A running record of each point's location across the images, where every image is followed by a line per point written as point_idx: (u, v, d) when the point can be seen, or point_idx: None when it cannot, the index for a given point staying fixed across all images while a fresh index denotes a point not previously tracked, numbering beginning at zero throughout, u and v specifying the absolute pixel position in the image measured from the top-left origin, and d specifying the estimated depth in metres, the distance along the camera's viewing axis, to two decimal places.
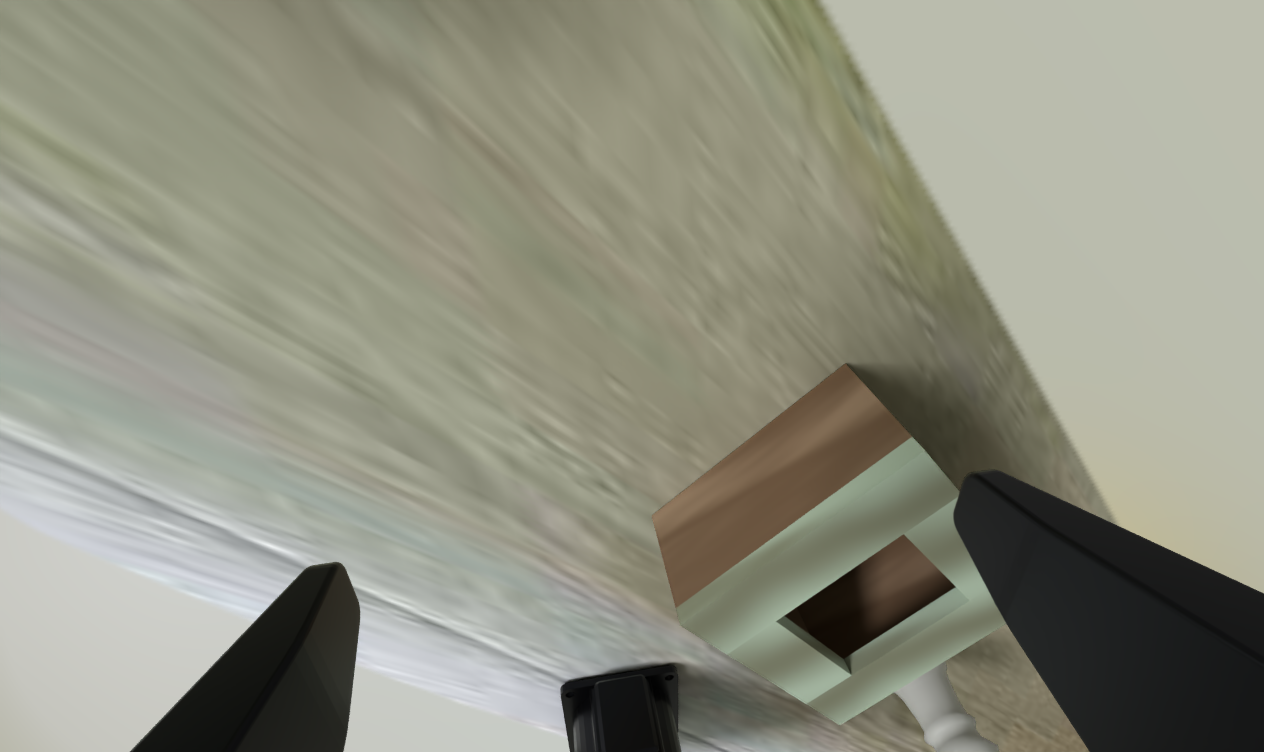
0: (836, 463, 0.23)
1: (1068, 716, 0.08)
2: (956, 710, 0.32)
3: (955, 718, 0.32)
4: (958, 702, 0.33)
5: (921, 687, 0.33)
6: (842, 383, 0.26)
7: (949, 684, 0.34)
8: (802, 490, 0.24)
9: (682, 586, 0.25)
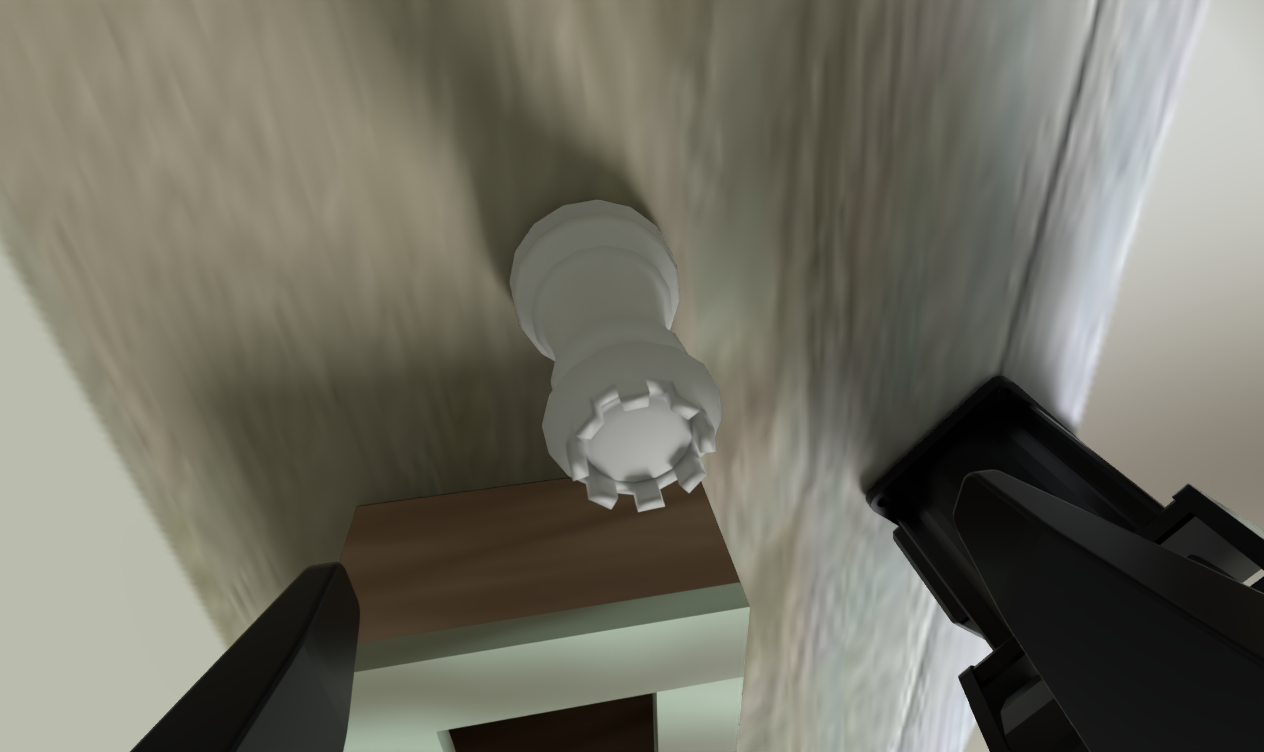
0: None
1: (1068, 715, 0.08)
2: None
3: None
4: None
5: None
6: None
7: (553, 349, 0.14)
8: None
9: None
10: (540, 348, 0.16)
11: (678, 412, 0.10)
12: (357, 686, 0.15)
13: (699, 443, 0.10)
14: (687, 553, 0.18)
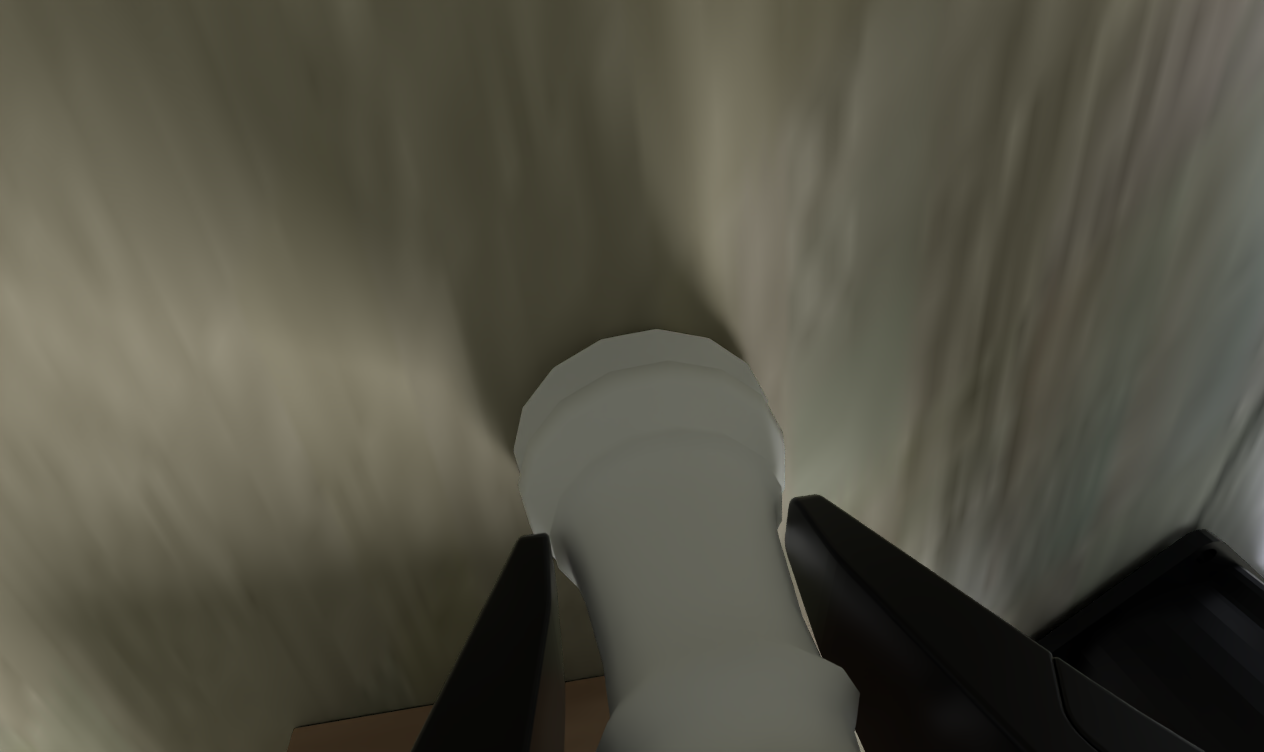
0: None
1: None
2: None
3: None
4: None
5: None
6: None
7: (590, 619, 0.08)
8: None
9: None
10: None
11: None
12: None
13: None
14: None
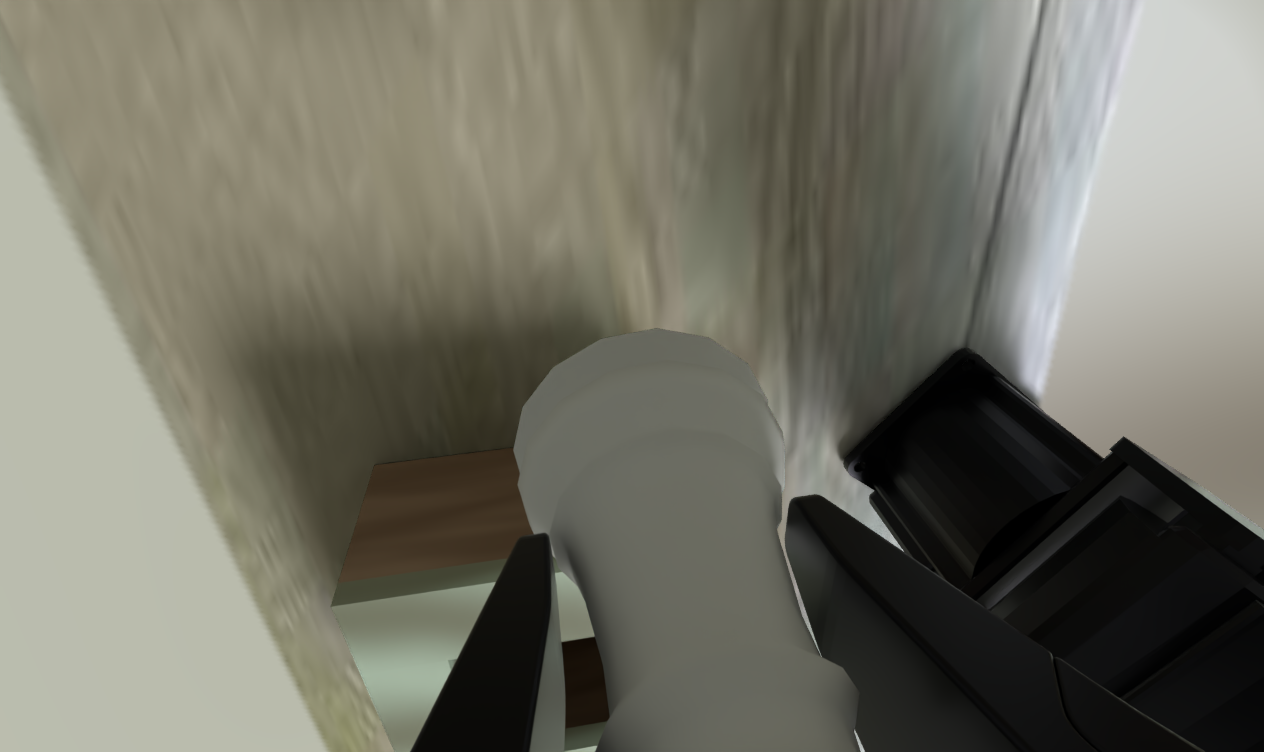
0: None
1: None
2: None
3: None
4: None
5: None
6: None
7: (590, 618, 0.08)
8: None
9: None
10: None
11: None
12: (379, 613, 0.17)
13: None
14: None
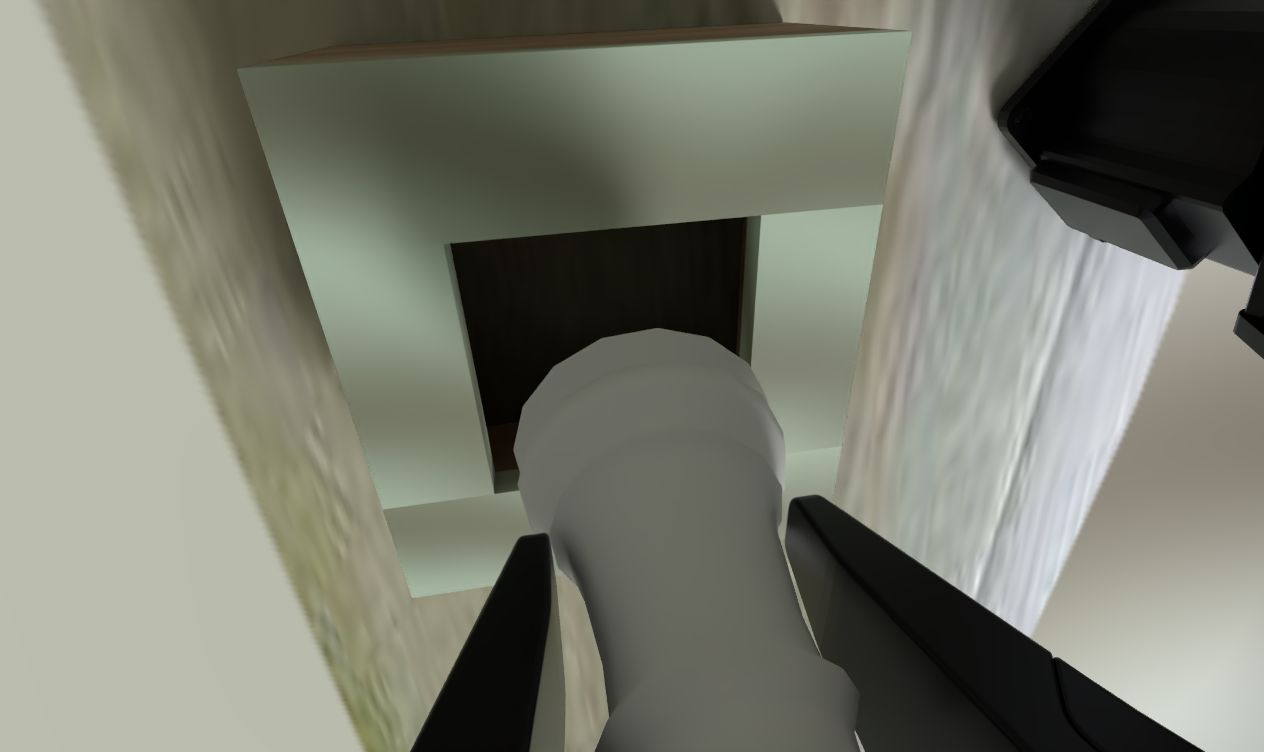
0: None
1: None
2: None
3: None
4: None
5: None
6: None
7: (590, 618, 0.08)
8: None
9: None
10: None
11: None
12: (323, 102, 0.10)
13: None
14: (801, 29, 0.12)
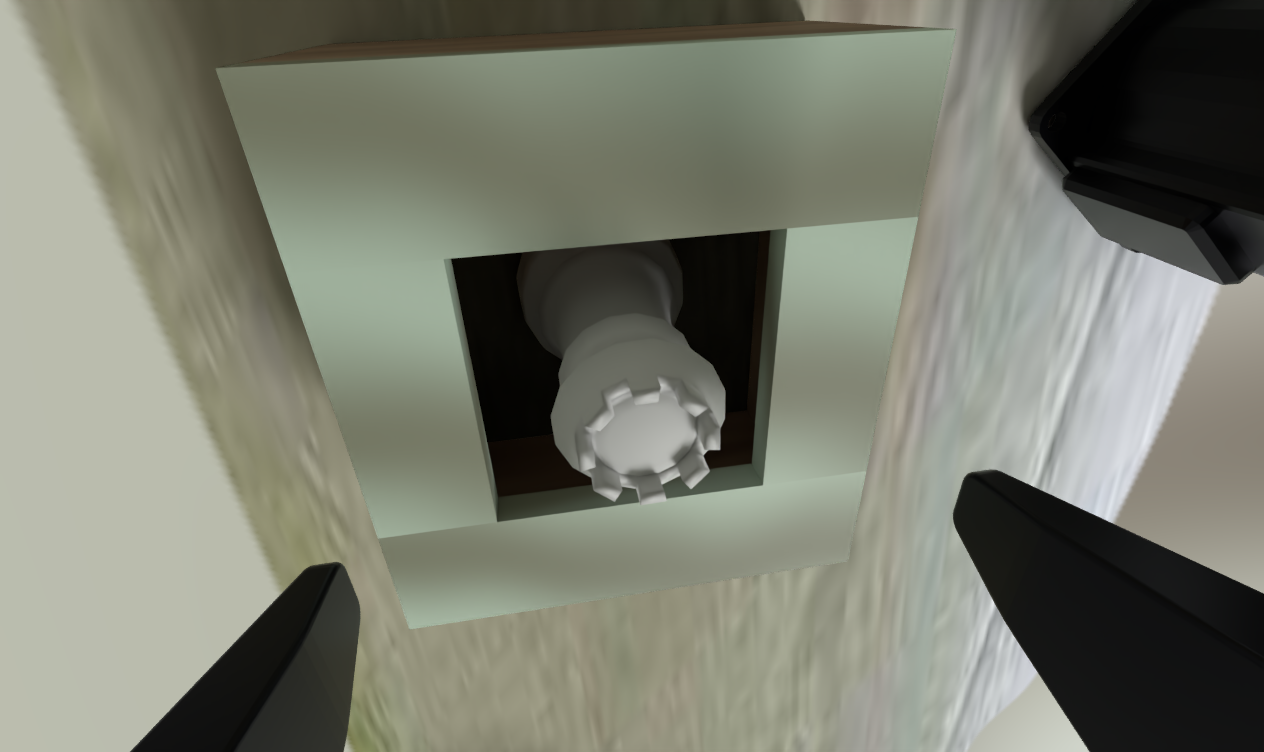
0: None
1: (1068, 716, 0.08)
2: None
3: None
4: None
5: None
6: None
7: (559, 343, 0.14)
8: None
9: None
10: (544, 342, 0.16)
11: (686, 409, 0.10)
12: (312, 106, 0.09)
13: (704, 440, 0.11)
14: (831, 27, 0.11)
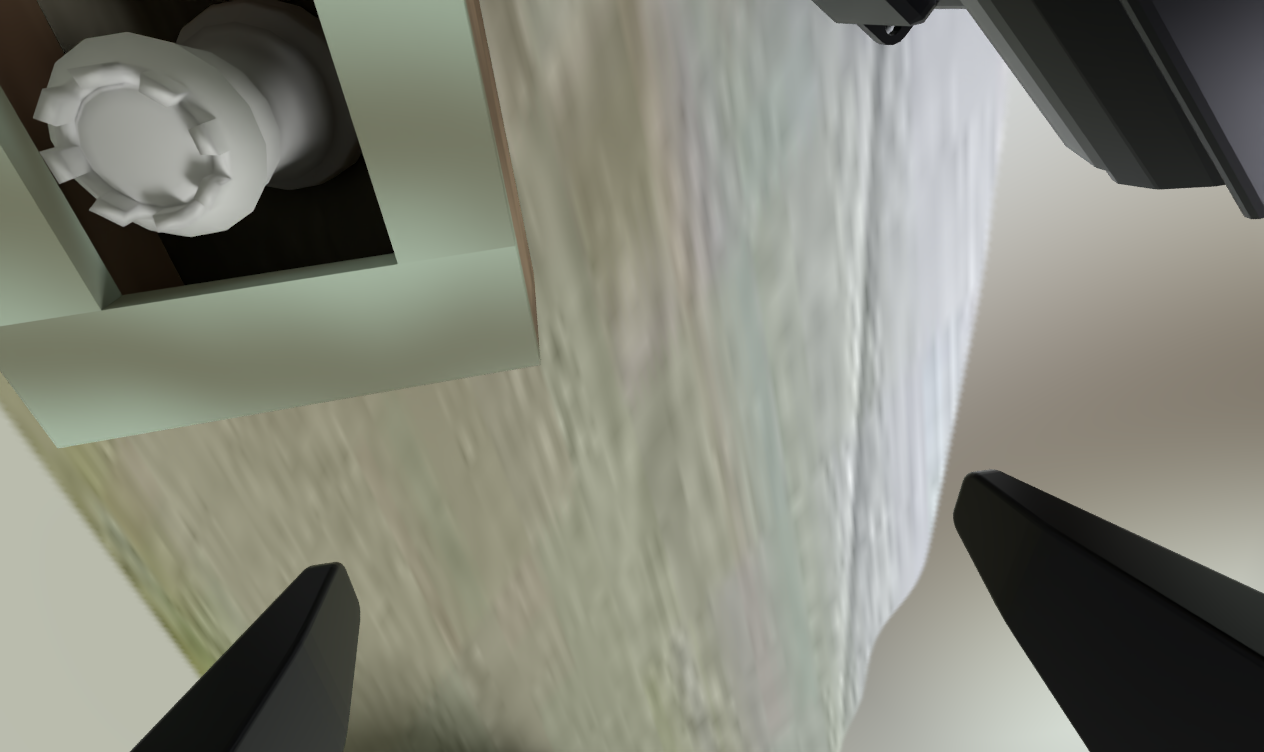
0: None
1: (1068, 716, 0.08)
2: None
3: None
4: None
5: None
6: None
7: None
8: None
9: None
10: None
11: (148, 95, 0.09)
12: None
13: (194, 141, 0.10)
14: None
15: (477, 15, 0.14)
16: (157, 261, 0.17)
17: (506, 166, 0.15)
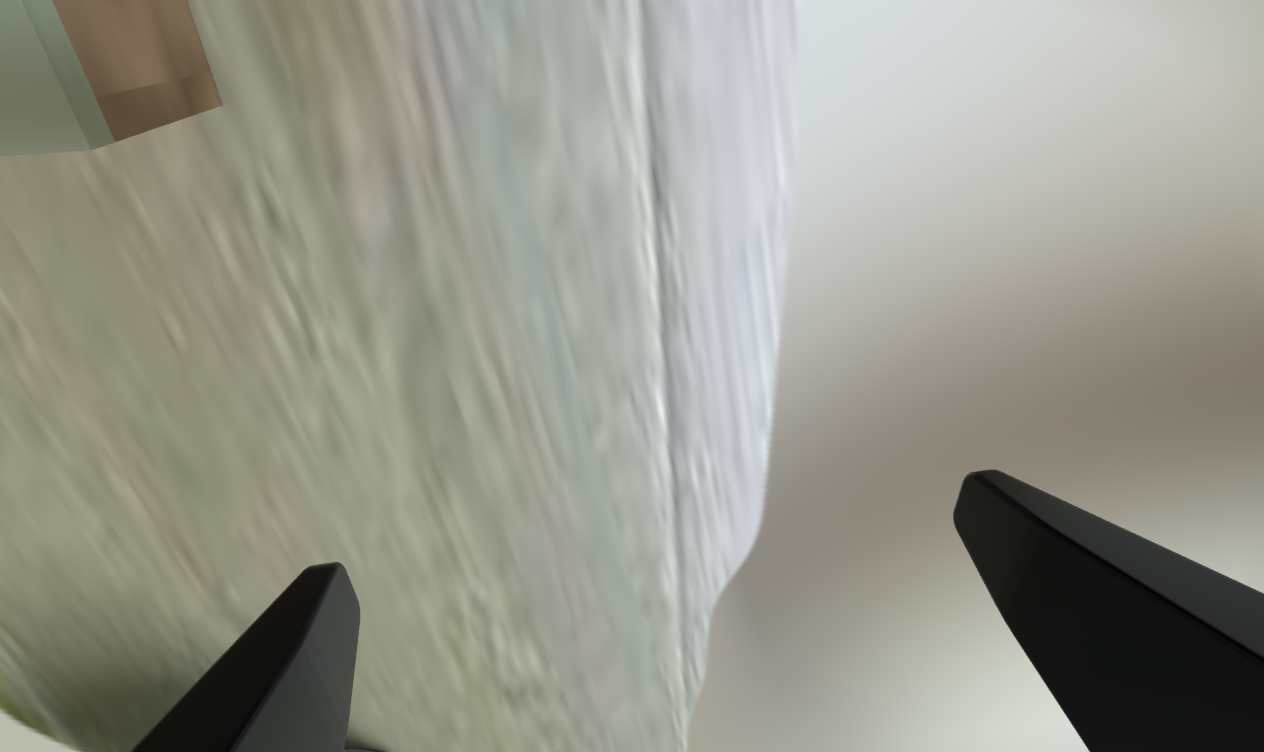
0: None
1: (1068, 716, 0.08)
2: None
3: None
4: None
5: None
6: None
7: None
8: None
9: None
10: None
11: None
12: None
13: None
14: None
15: None
16: None
17: None
